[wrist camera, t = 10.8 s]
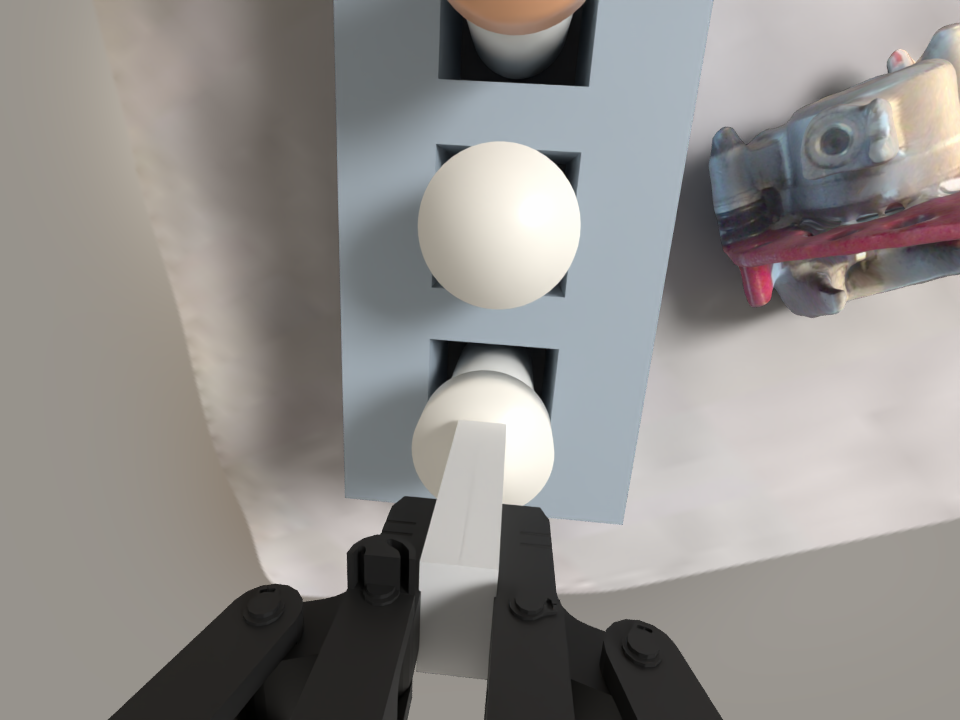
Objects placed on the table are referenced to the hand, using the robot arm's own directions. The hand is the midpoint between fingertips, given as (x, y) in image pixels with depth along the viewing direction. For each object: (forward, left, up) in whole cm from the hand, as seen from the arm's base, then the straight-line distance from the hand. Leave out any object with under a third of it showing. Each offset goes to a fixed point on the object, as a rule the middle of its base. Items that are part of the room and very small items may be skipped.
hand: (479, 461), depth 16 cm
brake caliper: (-9, +14, -12) cm, 20 cm away
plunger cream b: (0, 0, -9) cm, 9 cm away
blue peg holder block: (-7, 0, -12) cm, 13 cm away
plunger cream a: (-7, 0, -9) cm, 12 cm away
